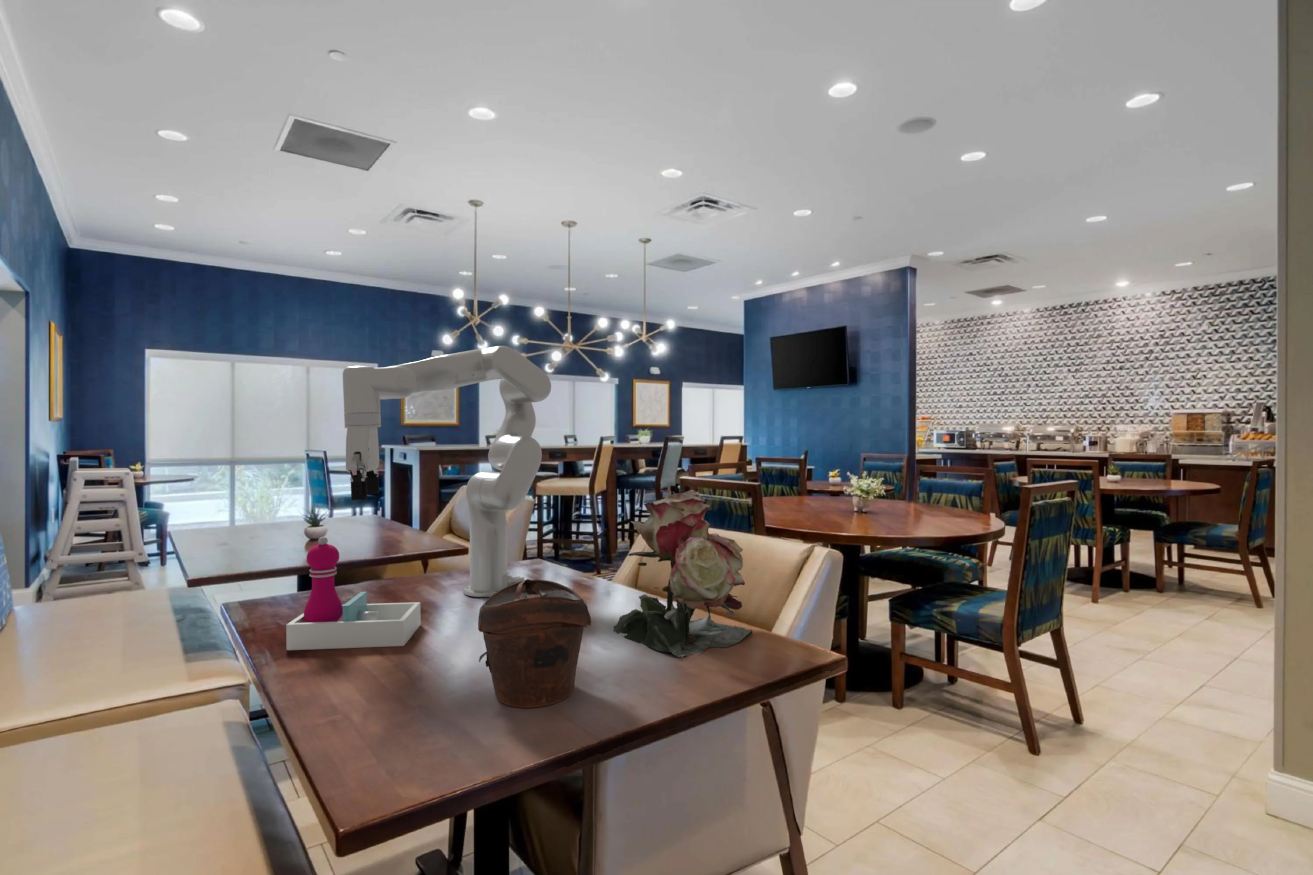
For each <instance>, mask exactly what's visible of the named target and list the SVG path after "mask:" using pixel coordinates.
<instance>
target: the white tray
mask: <svg viewBox="0 0 1313 875" xmlns="http://www.w3.org/2000/svg"><path fill="white" fill-rule="evenodd" d="M343 605H344V604H342V606H343ZM367 611H378V620H370V621H343V614H342V616H341V618H340V619H339V620H338V622H311V623H307V622H306V621H305V619H304V612H303V613H302V614H300V615H298V616H297V617H296V618H294V619H292V620H291V621H290V622H288V623H287V624H286V625H285V626H286V628H285V630H286V632H285V633H286V634H285V636H286V643H285V644H286V651H302V650H303V651H305V650H306V651H307V650H328V649H329V650H331V649H353V648H354V649H355V648H381V647H383V648H384V647H404V646H405V645H406V644H407V643H408V642H409V640H410V639H411V638H412V636H413V635H414V634H415V632H416V631H417V630H418V629H419V628H420V627H421V602H420V601H418V602H415V601H413V602H388V603H386V602H383V603H381V602H379V603H367Z"/></svg>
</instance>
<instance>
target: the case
mask: <svg viewBox="0 0 1313 875" xmlns="http://www.w3.org/2000/svg"><path fill="white" fill-rule="evenodd" d="M478 611H479V612H478V619H477V620H478V621H477V622H478V623H477V629H478V631H479V632H480V633H482V635H483V640H484V645H485V650H486V651H485V652H484V653H482V654H481V655H480V656H479V658H478V662H479V663H480V662H481V660H482V659H483V658H484V657H485V656H486V660H485V666H486V668H488V669H489V673H490V675H491V681H492V684H493V690H494V695H495V697H496V698H497V700H498V701H500V703H502V704H503V705H506V706H508V707H514V708H519V709H520V708H523V709H533V708H541V707H546V706H551V705H553V704H556V703H559V702H561V701H563V700H565V699H566V698H567V697H569V696H570V695H571V694H572V692H573V689H574V688H575V682H576V681H575V680H576V674H577V666H578V662H579V655H580V651H581V650H580V649H581V645H582V638H583V633H584V628H587V627H588V626H591V625H592V617H591V615H590V612H589V607H588V604H587V603H586V601H585V600H584V599H583V598H582V597H581V596H580V595H579V594H578V593H577V591H574V590H573V589H572V588H570V587H568V586H565V585H563V584H561V583H558V582H556V581H552V580H547V579H539V578H536V579H529V578H528V579H527V578H526V579H524V581H521V582H518V583H515V584H512V585H510V586H507V587H505V588H503V589H501V590H500V591H498V592H497V593H495V594H493V595H492V596H491V597H488V599H487V600H485V601H484V603H482V605H481V606H480V609H479V610H478Z"/></svg>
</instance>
